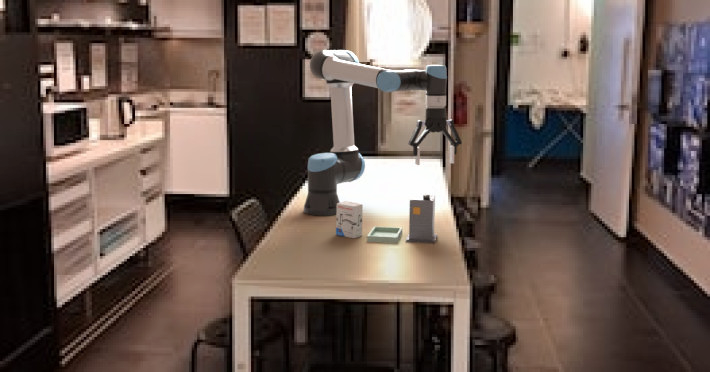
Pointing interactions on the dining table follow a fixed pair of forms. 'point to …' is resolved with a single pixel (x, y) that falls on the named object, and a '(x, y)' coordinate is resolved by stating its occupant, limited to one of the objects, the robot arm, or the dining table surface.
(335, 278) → the dining table surface
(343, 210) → the ink box
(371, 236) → the tray
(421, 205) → the control unit
